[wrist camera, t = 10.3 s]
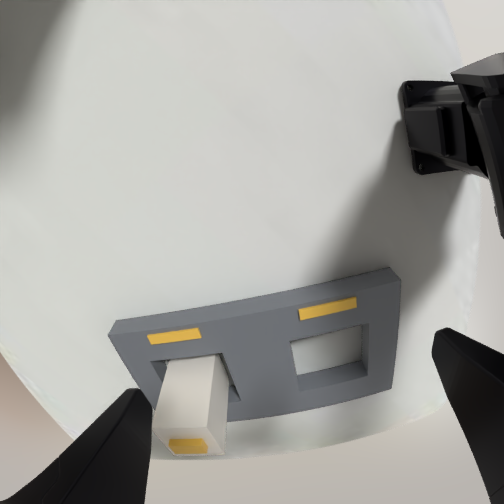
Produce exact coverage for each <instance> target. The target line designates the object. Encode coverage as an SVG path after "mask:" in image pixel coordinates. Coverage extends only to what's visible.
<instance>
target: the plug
mask: <svg viewBox="0 0 504 504" xmlns="http://www.w3.org/2000/svg"><path fill="white" fill-rule="evenodd" d="M228 390H229V377H228V375H227V373H226V370H225V368H224V365H223V363H222V360H221V358H220V355H219V353H216V354H209V355H201V356H193V357H185V358H176V359H170V360H169V363H168V367H167V370H166V374H165V377H164V381H163V384H162V388H161V391H160V395H159V399H158V402H157V406H156V410H155V414H154V417H153V421H152V431H153V432H154V433H155V434H156V436H157V437H158V438H159V439H160V440H161V442H162V443H163V444H164V445H165V446H166V447H167V449H168V450H169V451H170V452H171V453H172V454H173V455H174V456H208V455H225V442H226V424H227V407H228Z"/></svg>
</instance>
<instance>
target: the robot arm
mask: <svg viewBox="0 0 504 504" xmlns="http://www.w3.org/2000/svg"><path fill="white" fill-rule="evenodd" d="M450 74H451V76H452V78H453V80H454V82H448V81H405V82H403V83H402V93H403V98H404V104H405V111H404V114H405V120H406V126H407V133H408V141H409V147H410V148H411V152H412V161H413V169H414V171H415V172H416V173H417V174H420V175H425V174H432V173H439V172H446V171H453V170H462V171H465V172H468V173H471V174H474V175H477V176H480V177H483V178H486V179H489V181H490V185H491V189H492V193H493V198H494V203H495V207H494V208H495V213H496V216H497V219H498V225H499V229H500V233H501V236H502V237H503V239H504V53H498V54H495V55H492V56H490V57H487V58H484V59H482V60H480V61H477V62H475V63H472V64H470V65H467V66H465V67H463V68H460V69H458V70H456V71H454V72H451V73H450ZM408 85H409V86H410V87H411V90H410V91H409V90H408V88H407V86H408ZM420 164H421V165H422V169H421V170H419V166H420ZM432 358H433V360H434V363H435V366H436V368H437V371H438V373H439V376H440V379H441V381H442V384H443V387H444V390H445V392H446V395H447V397H448V400H449V402H450V404H451V406H452V408H453V410H454V412H455V414H456V416H457V419H458V421H459V423H460V425H461V428H462V430H463V432H464V434H465V437H466V439H467V441H468V443H469V446H470V448H471V451H472V453H473V455H474V458H475V460H476V463H477V465H478V468H479V471H480V473H481V476H482V478H483V481H484V484H485V487H486V490H487V493H488V496H489V497H490V498H489V499H490V502H491V504H504V354H502V353H500V352H498V351H496V350H494V349H492V348H490V347H488V346H486V345H483V344H481V343H479V342H477V341H475V340H473V339H471V338H469V337H467V336H465V335H463V334H461V333H459V332H457V331H455V330H453V329H451V328H443V329H441V330H438V331H436V333H435V336H434V341H433V346H432ZM152 413H153V410H152V406H151V403H150V402H149V400H148V399H147V398H146V396H145V395H144V393H143V392H142V390H141V389H139V388H129V389H127V390H126V391H125V392H124V393H123V394H122V395H121V396H120V397H119V398H118V399H117V400H116V401H115V402H114V403H113V404H111V405H110V406H109V407H108V408H107V409H106V410H105V411H104V412H103V413H102V414H101V415H100V416H99V417H98V418H97V419H96V420H95V421H94V422H93V423H92V424H91V425H90V426H89V427H88V428H87V429H86V430H85V431H84V432H83V433H82V434H81V435H80V436H79V437H78V438H77V439H76V440H75V441H74V442H73V443H72V444H71V445H70V446H69V447H68V448H67V449H66V450H65V451H64V452H63V453H62V454H61V455H60V456H59V458H57V459H55V460H54V461H53V462H52V463H51V464H50V465H49V466H48V467H47V468H46V469H45V470H44V471H43V472H42V473H40V474H39V475H38V476H37V477H36V478H34V479H33V480H32V481H31V482H30V483H28V484H27V485H26V486H24V487H23V488H22V489H20V490H19V491H18V492H17V493H15V494H14V495H13V496H11V497H10V498H8V499H6V500H3V501H0V504H144V502H145V494H146V485H147V477H148V469H149V462H150V454H151V437H152Z"/></svg>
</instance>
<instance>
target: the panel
mask: <svg viewBox="0 0 504 504" xmlns="http://www.w3.org/2000/svg"><path fill="white" fill-rule="evenodd" d="M400 293H401V279H400V278H399V277H398V276H397V275H396V274H395V273H394V271H393V270H392V269H391V268H390V267H389V268H385V269H381V270H377V271H373V272H369V273H365V274H360V275H356V276H352V277H348V278H343V279H339V280H334V281H330V282H325V283H321V284H316V285H312V286H307V287H302V288H298V289H293V290H288V291H283V292H278V293H274V294H269V295H264V296H258V297H253V298H248V299H243V300H238V301H232V302H227V303H221V304H216V305H210V306H205V307H199V308H193V309H187V310H181V311H175V312H169V313H163V314H157V315H150V316H144V317H137V318H130V319H123V320H116V322H115V323H114V325H113V327H112V328H111V330H110V332H109V334H108V337H109V338H110V340H111V342H112V344H113V346H114V347H115V349H116V351H117V352H118V354H119V356H120V358H121V359H122V361H123V363H124V364H125V366H126V367H127V369H128V371H129V372H130V374H131V375H132V377H133V379H134V380H135V382H136V383H137V385H138V386H139V388H140V389H141V390H142V392H143V393H144V395H145V396H146V398H147V399H148V400H149V402H150V403H151V406H152V407H153V408H154V410H156V406H157V402H158V399H159V395H160V391H161V388H162V384H163V381H164V377H165V374H166V370H167V366H166V364H165V362H164V361H163V360H167V359H176V358H185V357H193V356H201V355H209V354H216V353H222V354H223V356H224V359H225V361H226V364H227V366H228V369H229V372H230V374H231V377H232V379H233V381H234V384H235V386H229V390H228V407H227V422H232V421H242V420H250V419H258V418H265V417H272V416H278V415H284V414H290V413H296V412H301V411H306V410H311V409H316V408H321V407H325V406H330V405H334V404H338V403H342V402H346V401H350V400H354V399H358V398H361V397H365V396H369V395H372V394H376V393H379V392H382V391H385V390H389V389H391V388H392V381H393V374H394V366H395V358H396V349H397V339H398V327H399V313H400ZM358 325H362V360H361V361H358V362H354V363H350V364H346V365H342V366H338V367H334V368H329V369H325V370H321V371H316V372H311V373H307V374H302V375H297V374H296V369H295V364H294V358H293V353H292V348H291V343H290V341H292V340H297V339H302V338H306V337H311V336H316V335H320V334H324V333H329V332H333V331H337V330H342V329H346V328H350V327H354V326H358Z"/></svg>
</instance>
